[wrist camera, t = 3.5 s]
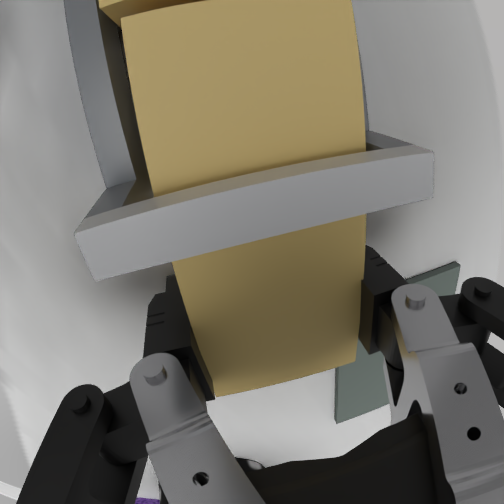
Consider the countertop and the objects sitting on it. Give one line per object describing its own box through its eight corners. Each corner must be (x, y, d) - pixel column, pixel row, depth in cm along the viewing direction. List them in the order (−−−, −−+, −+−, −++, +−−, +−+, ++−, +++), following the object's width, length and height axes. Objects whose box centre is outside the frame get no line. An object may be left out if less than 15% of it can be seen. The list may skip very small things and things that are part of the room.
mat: (335, 303, 14) (338, 308, 13) (455, 261, 14) (460, 265, 14) (334, 419, 18) (336, 423, 18) (425, 381, 19) (427, 385, 19)
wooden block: (146, 46, 8) (120, 18, 4) (292, 27, 8) (350, -2, 5) (205, 317, 13) (216, 397, 9) (314, 292, 13) (355, 361, 10)
